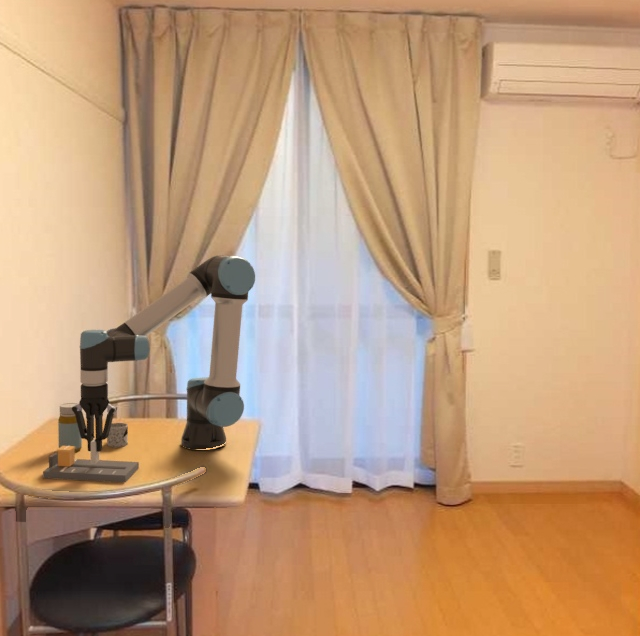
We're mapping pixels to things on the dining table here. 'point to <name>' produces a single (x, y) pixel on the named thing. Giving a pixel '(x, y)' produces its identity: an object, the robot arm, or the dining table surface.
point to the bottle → (68, 427)
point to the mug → (118, 435)
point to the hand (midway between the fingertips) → (95, 461)
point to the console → (91, 470)
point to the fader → (66, 455)
